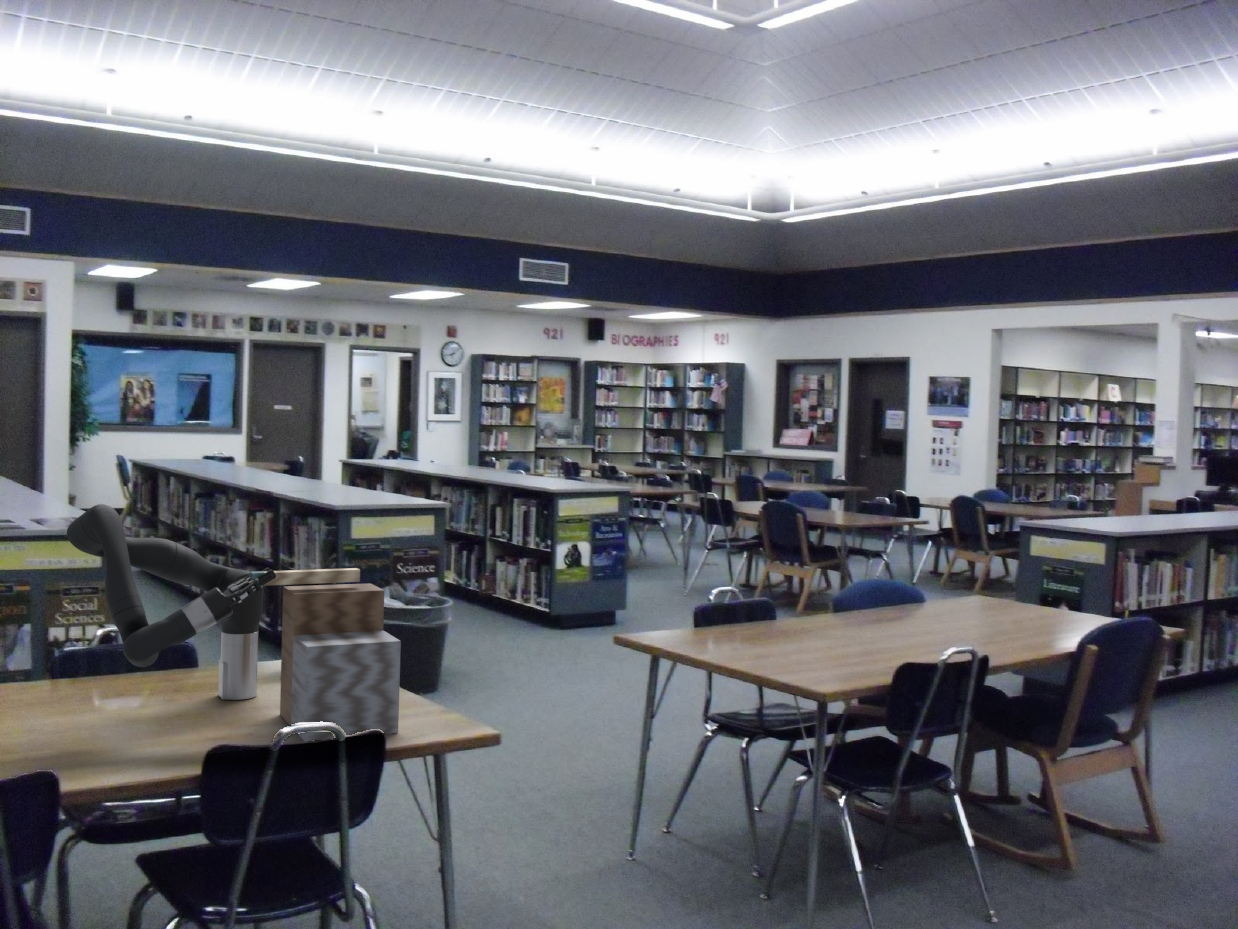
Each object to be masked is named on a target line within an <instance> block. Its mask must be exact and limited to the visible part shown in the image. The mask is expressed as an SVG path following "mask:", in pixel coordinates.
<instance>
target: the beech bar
mask: <svg viewBox="0 0 1238 929" xmlns="http://www.w3.org/2000/svg"><path fill="white" fill-rule="evenodd" d="M273 571H274V573H275V575H276V578H275V579H273V580H271V581H270V582H268V583H266V584H264V585H263V587H266V586H287V585H288V586H289V585H291V586H292V585H308V584H309V585H312V584H313V585H315V584H335V583H336V584H337V583H356V582H357V583H360V582H361V569H360V568H358V567H354V568H353V567H352V568H348V567H347V568H345V567H344V568H324V569H323V568H319V569H298V570H297V569H293V570H273ZM266 572H268V571H263V570H260V571H259V570H257V571H256V570H255V571H254V570H253V571H250V581H251V580H253V579H255V578H257V577H259V576H261V575H263V574H264V573H266ZM253 586H254V585H253Z"/></svg>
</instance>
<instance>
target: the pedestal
mask: <svg viewBox="0 0 1238 929" xmlns="http://www.w3.org/2000/svg"><path fill="white" fill-rule="evenodd" d="M282 593H283V594H282V616H281V617H282V618H281V621H282V623H281V624H282V625H281V626H282V628H281V657H280V658H281V660H280V661H281V662H280V696H279V697H280V699H279V700H280V701H279V715H280V716H281V718H282V719H283V720H284V721H285V722H286V723H287V724H288V725H289V726H290V725H291V724H295V723H298V722H320V721H323V722H333V723H336V725H338V726H340V727H341V728H342V729H343V730H344V732H345V733H346V735H352V734H355V733H357V732H363V731H366V730H370V729H380V730H382V731H383V732H384V733H385V734H384V735H387V734H397V732H398V733H399V720H400V719H399V715H400V714H399V713H400V688H401V687H400V684H401V683H400V681H401V677H400V676H401V653H402V652H401V650H402V648H401V647H402V642H401V641H402V640H400V639H398V638H396V637H395V636H393V635H391V633H389V632H387V631H385V630H384V617H385V589H383V588H380V587H378V586H377V585H375V584H373V583H371V582H370V583H352V584H351V583H348V584H347V583H346V584H345V583H343V584H342V583H341V584H318V585H315V584H313V585H293V586H292V585H291V586H289V585H288V586H287V585H285V586H283V587H282ZM297 735H298V737H300V739H302V741H303V742H304V743H308V742H307V741H312V742H314V741H313V740H322V741H325V740H324V739H331V740H333V739H332V738H334V736H333V734H332V733H331V732H305V733H300V734H297Z"/></svg>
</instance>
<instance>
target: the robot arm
mask: <svg viewBox="0 0 1238 929" xmlns="http://www.w3.org/2000/svg"><path fill="white" fill-rule="evenodd" d="M66 536H67V539H68V541H69V543H70V544H71V545H72V546H73V547H74V548H75V549H77V550H78V551H80V552H83V553H85V554H87V555H88V554H89V555H91V556H95V557H98V558H99V557H100V558H103V559H104V560H105V577H104V578H105V579H104V597H105V601H106V605H107V608H108V610H109V612H110V616H111V619H112V621H113V623H114V625H115V627H116V629H117V630H118V632H119V634H120V637H121V640H122V651H123V656H125V658H126V659H127V660H128V661H129V663H130V664H132V665H133V666H135V667H137V668H138V667H139V668H146V667H149V666H151V665H153V664H154V663H156V661H157V659H158V657H159V654H160V652H161V651H163V650H165V649H167V648H169V647H171V646H173V645H174V646H175V645H176V646H177V645H180V644H183V643H184V642H186V641H188V640H189V639H191V638H193V637H195V636H196V635H197V634H200V633H202V632H203V631H206V630H208V629H210V628H211V627H213V626H215V625H216V624H219V623H220V622H221V621H222V622H221V630H220V632H221V633H220V634H221V636H220V638H221V639H220V640H221V641H220V658H219V660H218V684H217V685H218V687H217V690H218V693H217V694H218V696H219V697H220V699H221V700H232V701H237V700H238V701H239V700H248V699H252V698H255V697H257V695H258V693H257V692H258V658H259V657H258V656H259V655H258V653H259V652H258V651H259V625H260V623H261V621H262V616H263V608H264V593H265V592H264V591H265V590H264V586H263V585H264V584H266V583H268V582H270V581H271V580H273V579H275V578H276V575H275V573H274V571H275V570H273V569H271V568H270V567H266V568H264V569H263V570H262V571H268V572H266V573H264V574H263V575H261V576H259V577H257V578H255V579H253V580H251V581H250V572H251V571H250V570H244V569H240V568H233V567H229V566H224V565H221V564H218V563H215V562H211V561H209V560H207V559H206V558H205V557H203V556H202V555H201V554H199V553H198V552H196V551H194V550H193V549H191V548H189V547H187V546H185V545H183V544H180V543H178V542H176V541H172V540H170V539H166V538H159V537H130V536H126V532H125V527H124V524H123V521H122V518H121V516H120V514H119V513H118V512H117V510H116V509H114V508H113V506H110V505H108V504H102V503H99V504H95V505H93V506H91V507H90V508H89V509H87V510H85V512H83V513H82V514H81V515H79V516H78V517H76V518H75V519H74V520H73V521H72V522H70V524H69V525H68V527H67V529H66ZM132 567H133V568H136V569H138V570H141V571H145V572H147V573H150V574H151V575H154V576H156V577H159V578H162V579H165V580H166V581H170V582H173V583H177V584H179V585H184V586H189V587H194V588H197V589H200V590H203V591H205V593H203V594H202V595H200V596H198V597H196V598H194V599H193V600H191V601H190V602H188V603H187V604H185V605H184V606H183V607H181V608H180V609H177V610H176V611H175V612H173V613H171V614H169V615H168V616H166V617H165V618H163V619H161V620H158V621H155V622H153V623H150V624H149V622H148V619H147V616H146V611H145V609H144V606H143V603H142V601H141V597H140V594H139V592H138V589H137V586H136V583H135V580H134V575H133V570H132ZM253 585H254V586H253Z"/></svg>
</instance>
